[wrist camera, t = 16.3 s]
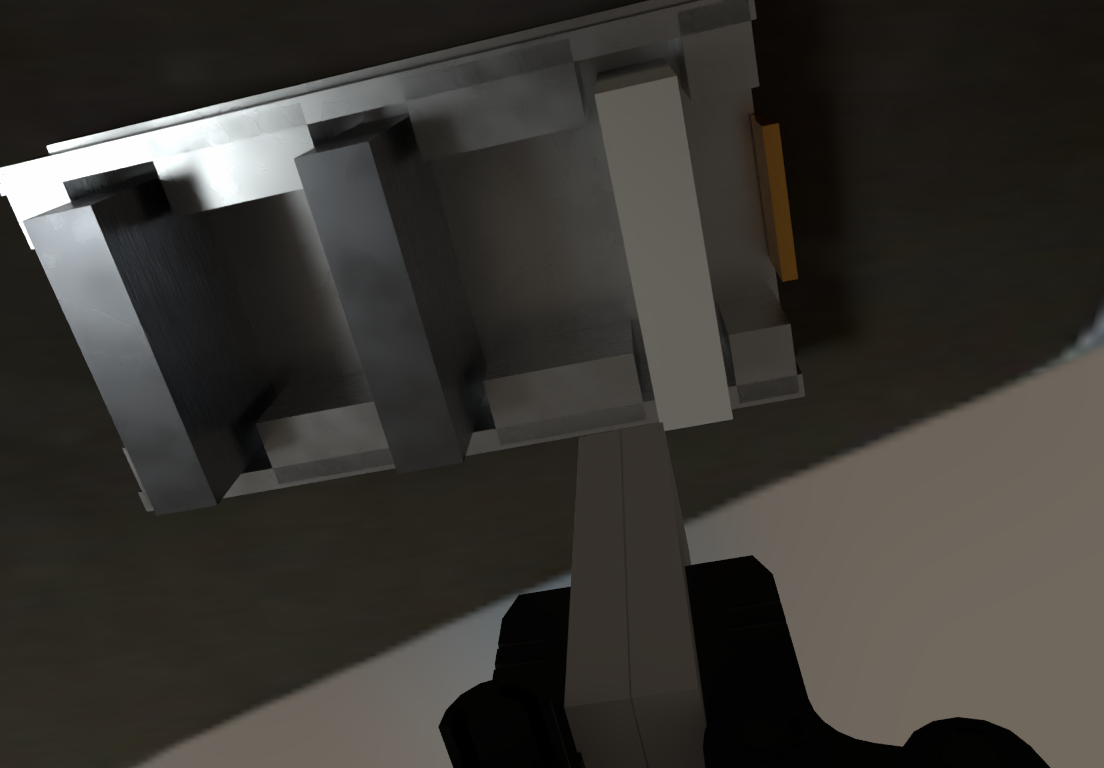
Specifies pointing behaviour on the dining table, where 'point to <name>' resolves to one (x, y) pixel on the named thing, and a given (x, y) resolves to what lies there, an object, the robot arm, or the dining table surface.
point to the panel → (663, 241)
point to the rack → (404, 257)
